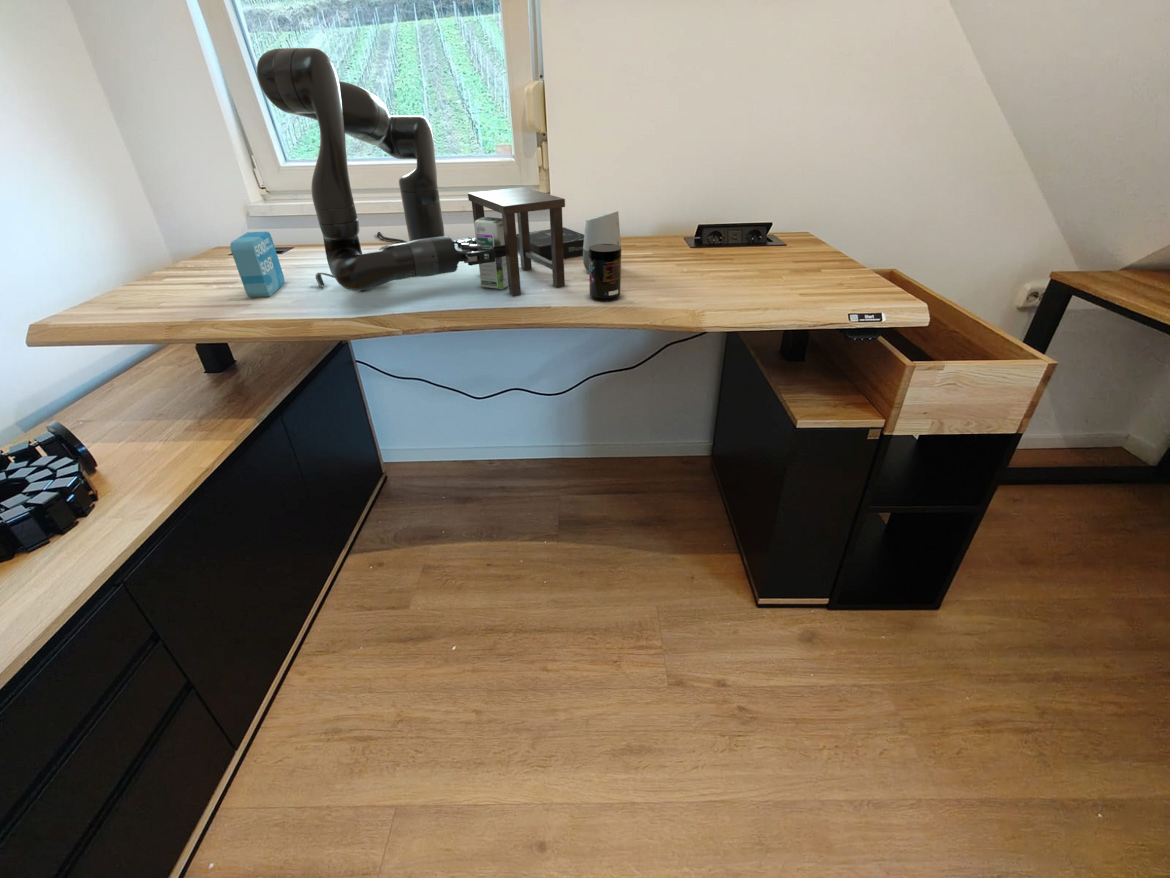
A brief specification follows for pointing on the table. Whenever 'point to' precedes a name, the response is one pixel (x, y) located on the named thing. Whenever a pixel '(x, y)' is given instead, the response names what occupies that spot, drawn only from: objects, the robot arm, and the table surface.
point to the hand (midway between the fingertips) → (501, 246)
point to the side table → (524, 229)
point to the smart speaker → (601, 233)
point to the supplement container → (605, 271)
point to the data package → (257, 264)
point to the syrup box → (488, 236)
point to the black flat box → (542, 243)
